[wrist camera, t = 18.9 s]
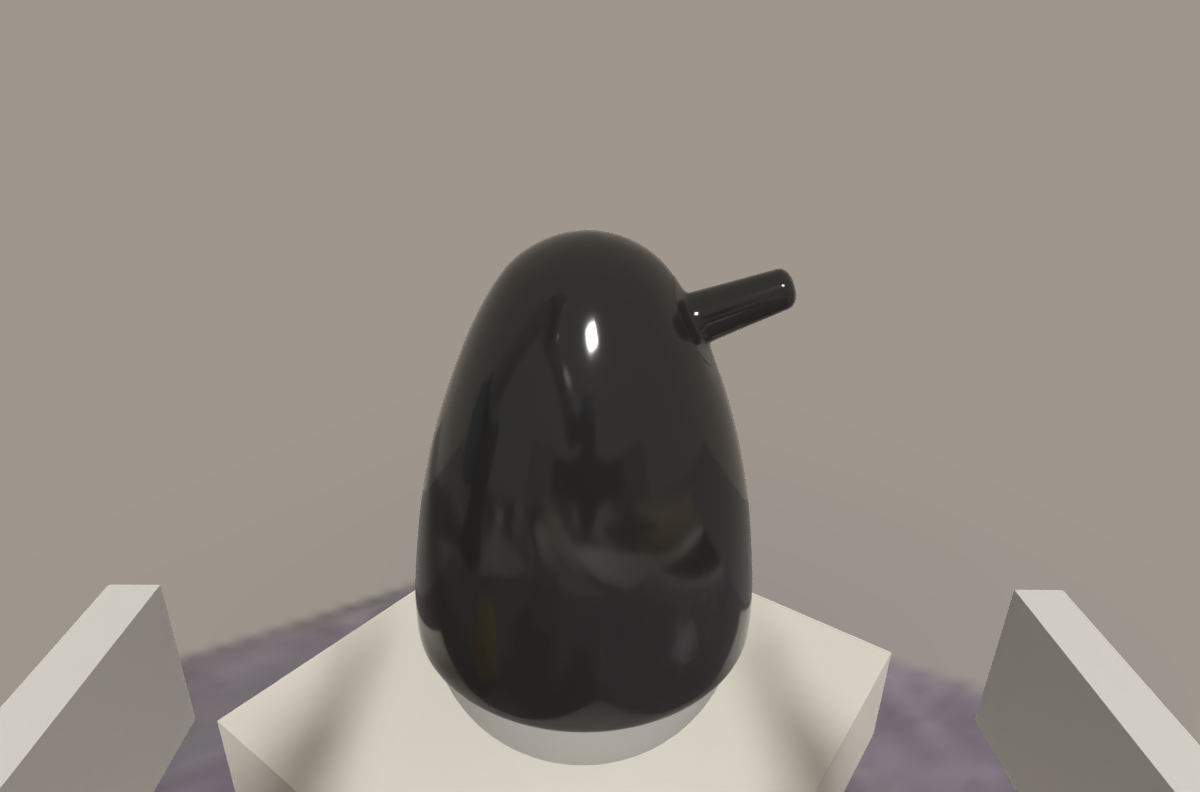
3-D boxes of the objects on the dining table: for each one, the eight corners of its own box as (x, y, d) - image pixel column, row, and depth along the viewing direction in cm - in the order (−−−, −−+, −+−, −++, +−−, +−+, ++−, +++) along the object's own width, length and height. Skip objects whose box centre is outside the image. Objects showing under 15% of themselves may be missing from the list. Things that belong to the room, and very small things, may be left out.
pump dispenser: (762, 845, 21) (848, 300, 14) (382, 814, 21) (307, 278, 15) (731, 598, 30) (774, 202, 24) (467, 582, 31) (442, 191, 24)
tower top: (239, 809, 26) (217, 720, 24) (546, 573, 38) (546, 503, 36) (637, 1197, 17) (644, 1101, 16) (872, 734, 29) (891, 652, 27)
